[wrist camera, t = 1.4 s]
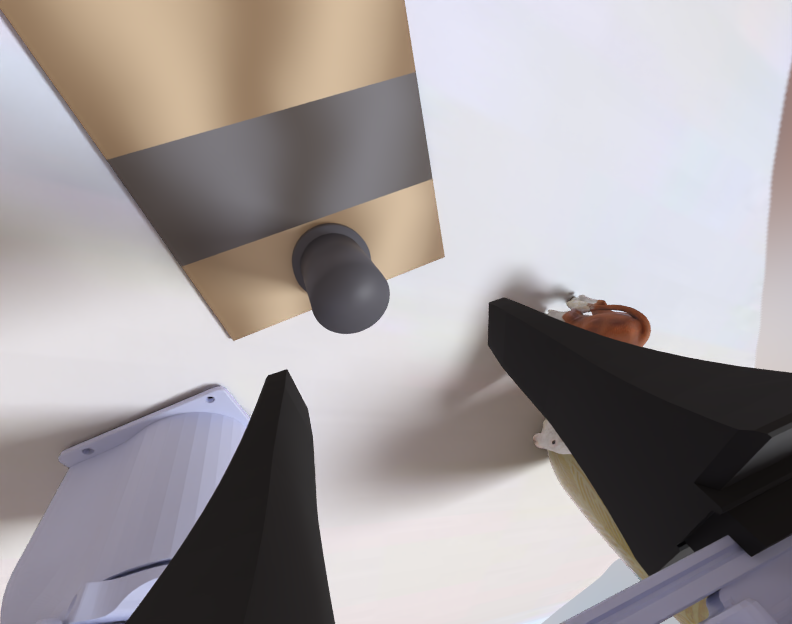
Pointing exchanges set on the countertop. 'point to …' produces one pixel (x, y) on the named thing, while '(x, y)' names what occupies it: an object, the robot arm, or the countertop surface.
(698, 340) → the countertop surface
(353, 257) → the dark grey rounded knob
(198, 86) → the track board
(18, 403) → the countertop surface
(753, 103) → the countertop surface
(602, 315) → the bull figurine
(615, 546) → the vase
